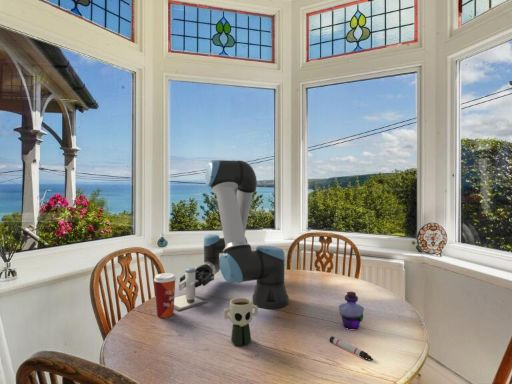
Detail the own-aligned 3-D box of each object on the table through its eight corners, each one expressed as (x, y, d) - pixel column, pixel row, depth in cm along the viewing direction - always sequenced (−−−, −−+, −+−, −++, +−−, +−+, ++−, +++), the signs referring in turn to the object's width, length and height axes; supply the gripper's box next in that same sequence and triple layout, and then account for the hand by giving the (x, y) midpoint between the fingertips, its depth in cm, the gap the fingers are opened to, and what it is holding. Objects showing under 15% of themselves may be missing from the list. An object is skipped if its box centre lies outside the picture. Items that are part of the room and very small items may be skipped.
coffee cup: (170, 319, 123) (170, 279, 123) (149, 318, 125) (149, 278, 125) (180, 311, 132) (179, 273, 131) (160, 309, 133) (160, 272, 133)
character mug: (226, 350, 101) (226, 307, 101) (221, 339, 108) (221, 299, 108) (261, 345, 104) (260, 303, 104) (254, 335, 111) (254, 295, 111)
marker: (329, 343, 106) (329, 337, 106) (333, 341, 107) (333, 335, 107) (371, 364, 94) (371, 357, 94) (375, 362, 95) (375, 355, 95)
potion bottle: (365, 333, 112) (366, 297, 112) (339, 331, 114) (339, 296, 114) (362, 322, 121) (362, 289, 120) (337, 320, 122) (337, 288, 122)
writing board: (207, 302, 141) (207, 300, 141) (178, 311, 132) (178, 309, 132) (189, 294, 151) (189, 292, 151) (160, 302, 142) (160, 300, 142)
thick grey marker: (197, 301, 140) (197, 269, 139) (189, 304, 137) (188, 271, 136) (192, 299, 143) (191, 267, 142) (183, 301, 140) (183, 269, 139)
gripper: (222, 281, 156) (205, 298, 133) (187, 279, 159) (165, 295, 136) (222, 264, 155) (205, 279, 132) (187, 263, 159) (165, 277, 136)
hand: (185, 287), depth 134 cm, fingers closed on thick grey marker, 4 cm apart
